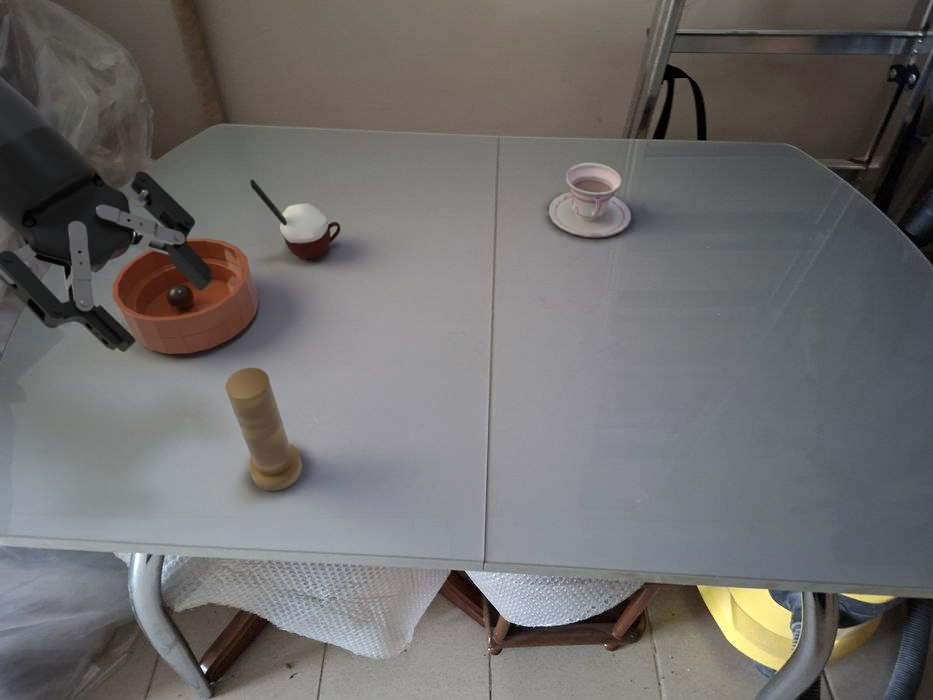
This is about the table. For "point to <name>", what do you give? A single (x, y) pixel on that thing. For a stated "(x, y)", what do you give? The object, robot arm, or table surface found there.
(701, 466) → the table surface
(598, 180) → the teacup
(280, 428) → the wooden flanged peg
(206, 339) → the bowl
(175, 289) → the bead
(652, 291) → the table surface
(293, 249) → the cocoa
